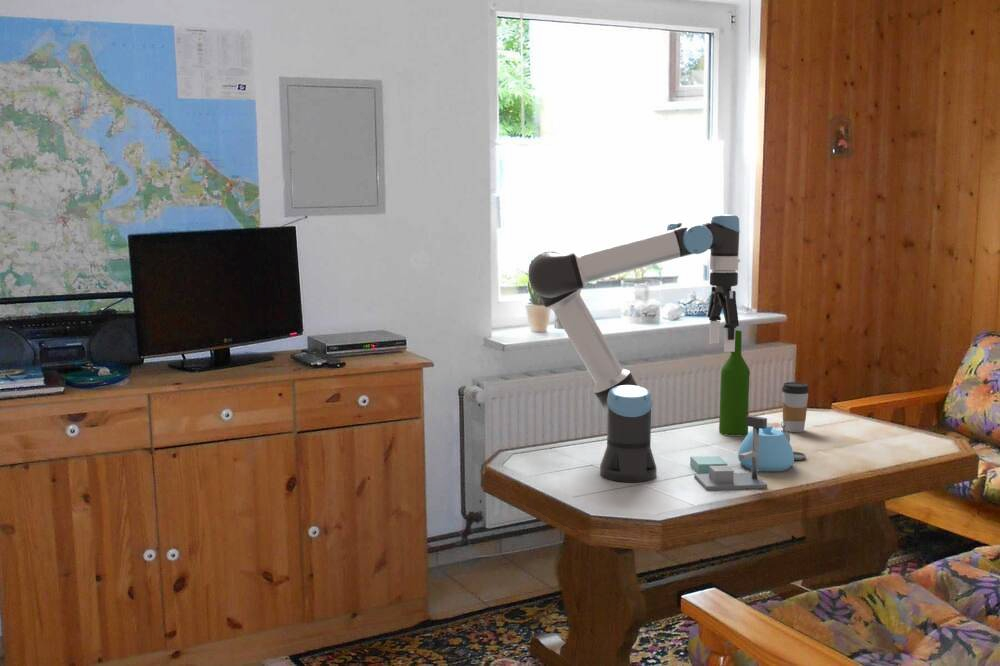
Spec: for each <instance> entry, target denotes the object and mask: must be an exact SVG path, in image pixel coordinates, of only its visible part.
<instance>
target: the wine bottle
mask: <svg viewBox="0 0 1000 666" xmlns="http://www.w3.org/2000/svg"><path fill="white" fill-rule="evenodd" d="M742 332H743V331H742V330H738V329H737V330H736V329H735V352H730V356H729V357H728V359H727V360H726V361H725V362H724V364H723V366H721V370H720V385H719V387H720V391H719V418H718V419H719V424H718V426H719V427H718V432H719V433H720V434H721V433H722V434H721V435H723V434H727V435H726V436H728V435H744V436H747V435H748V433H749V426H746V416H749V415H750V392H751V389H750V387H751V371H750V368H749V366H748V365H747V363H746V361H745V359H744V358H743V355H742V336H743V334H742ZM746 434H747V435H746Z"/></svg>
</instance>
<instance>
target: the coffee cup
mask: <svg viewBox="0 0 1000 666" xmlns="http://www.w3.org/2000/svg"><path fill="white" fill-rule="evenodd" d="M781 388H782V389H781V395H782V396H781V397H782V404H781V405H782V422H783V423H782V426H783V425H785V423H786V426H785V430H787V431H789V433H792V432H800V433H803V432H804V430H805V424H806V420H807V410H808V401H809V400H808V399H809V393H810V388H809V385H808V384H807V383H803V382H797V381H789V382H784V383H783V385H782V387H781ZM784 422H785V423H784ZM802 431H803V432H802Z"/></svg>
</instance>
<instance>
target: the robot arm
mask: <svg viewBox="0 0 1000 666" xmlns="http://www.w3.org/2000/svg"><path fill="white" fill-rule="evenodd" d="M740 232H741V230H740V218H739V217H738V215H735V214H712V216H711V219H710V221H705V222H702V221H701V222H699V221H696V222H695V221H693V222H692V221H678V222H677V221H676V222H675V221H674V222H669V223H668V225H667V229H666V231H664V232H660V233H659V232H658V233H657V234H653V235H649V236H645V237H642V238H638V239H633V240H630V241H625V242H623V243H619V244H615V245H612V246H611V245H610V246H608V247H604V248H600V249H596V250H593V251H590V252H585V253H582V254H579V253H577V252H571V253H566V254H561V253H559V252H556V251H545V252H542V253H540V254H538V255H537V256H536V257H534V258H533V259H532V261H531V263H530V264H529V267H528V271H527V272H528V273H527V274H528V282H529V284H530V287H531V288H532V290H533V291H534V292H535V293H536V294H537V295H538V297H539V299H540V300H541V302H542V304H543V306H544V307H545V309H548V310H551V311H553V312H554V315H555V316H556V318H557V319H558V321H559V322H560V324H561V327H562V328H563V330H564V332H565V333H566V335H567V337H568V338H569V340H570V342H571V344H572V346H573V347H574V349H575V350H576V352H577V354H578V355H579V357H580V360H581V361H582V363H583V365H584V367H585V369H587V372H588V374H589V376H591V378H592V380H593V382H594V387H593V392H594V394H595V396H596V398H597V400H598V401H599V404H601V407H602V408H603V411H604V412H605V416H606V418H607V419H606V421H607V427H606V428H607V429H606V432H607V433H606V448H605V450H604V454H603V456H602V460H601V463H600V468H599V475H600V476H601V477H603V478H605V479H607V480H611V481H615V482H621V483H622V482H624V483H640V482H641V483H642V482H647V481H652V480H653V479H655V478H656V477H657V471H658V470H657V469H658V467H657V464H656V461H655V458H654V455H653V452H652V448H651V444H652V443H651V440H652V439H651V437H652V436H651V435H652V432H651V430H652V406H653V400H652V394H651V392H650V390H648V389H647V388H646V387H641V386H640V385H638V383H637V381H636V379H635V378H634V377H633V374H632V373H631V371H630V370H629V369H625V368H623V367H622V366H621V365H620V363H619V361H618V359H617V357H616V356H615V354H614V352H613V350H612V348H611V346H610V345H609V343H608V342H607V339H606V338H605V337H604V334H603V333H602V331H601V329H600V328H599V326H598V324H597V322H596V321H595V320H596V319H594V317H593V315H592V313H591V311H590V310H589V308H588V307H587V305H586V303H585V301H584V299H583V298H582V296H581V291H582V289H584V288H585V287H586V285H587V284H588V283H591V282H595V281H599V280H602V279H606V278H609V277H612V276H616V275H620V274H624V273H628V272H632V271H635V270H638V269H643V268H645V267H650V266H652V265H657V264H660V263H665V262H667V261H670V260H676V259H679V258H683V257H686V256H690V255H700V254H703V253H705V252H707V251H708V250H710V256H709V270H711V272H709V285H710V286H711V292H710V293H711V294H710V300H709V303H708V304H709V305H708V310H707V315H706V317H707V318H709V319H708V320H709V336H708V337H709V339H708V341H709V342H708V343H709V345H719V344H720V333H721V332H720V331H721V320H722V318H721V313H722V312H723V316H724V321H725V322H724V323H725V324H724V325H723V328H724V339H723V340H724V343H723V344H724V345H723V346H724V347H723V352H724V353H725V352H726V353H727V352H728V353H729V352H730V353H731V352H735V330H736V328H737V327H739V326H740V322H739V315H738V307H737V298H736V297H737V293H736V291H735V290H732V287H736V286H738V281H739V280H738V279H739V274H738V272H736V271H738V270H739V263H740V262H741V259H740V258H739V247H740Z"/></svg>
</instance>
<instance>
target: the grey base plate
mask: <svg viewBox="0 0 1000 666" xmlns="http://www.w3.org/2000/svg"><path fill="white" fill-rule="evenodd" d="M694 479H695V480H696V481H697V482H698V483H699V484H700V485H701V486H702V487H703V488H704V489H705V490H706V491H722V490H723V491H724V490H726V491H727V489H728V490H750V489H749V488H754V489H755V488H763V489H768V484H767V483H766V482H765V481H764V480H763V479H761V478H760V477H759V476H758V478H757V479H753V478H751V472H735V470H733V469H732V468H731V467H730V466H729V465H727V466H709V474H698V473H694ZM746 488H748V489H746ZM754 489H753V490H754ZM755 490H756V489H755Z"/></svg>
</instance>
